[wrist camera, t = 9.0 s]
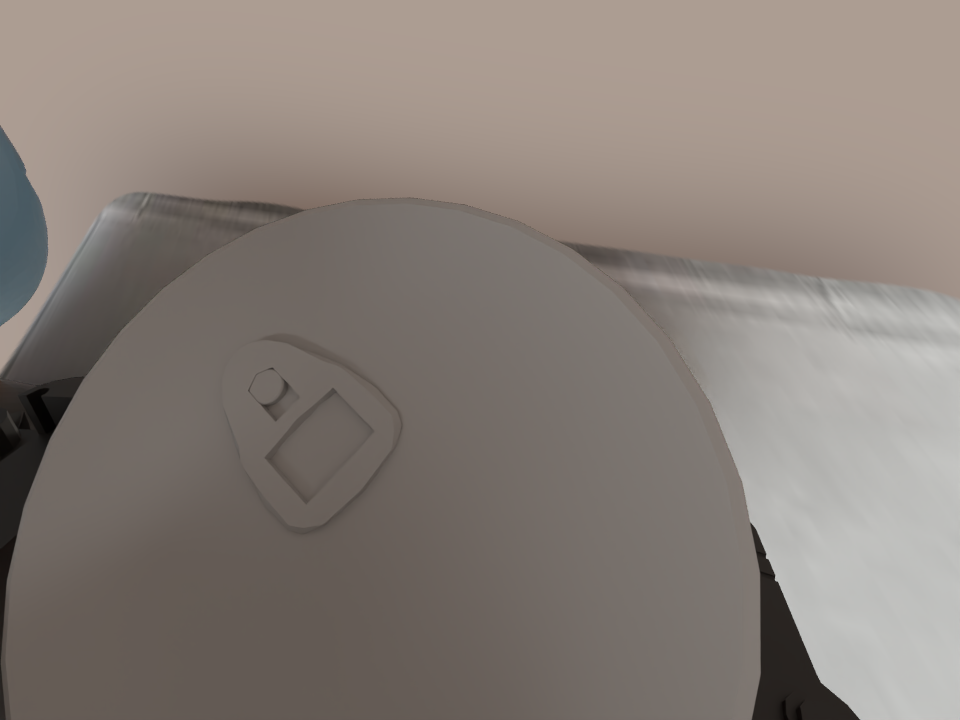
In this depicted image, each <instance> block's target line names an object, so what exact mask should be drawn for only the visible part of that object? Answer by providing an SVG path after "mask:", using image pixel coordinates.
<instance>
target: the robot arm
mask: <svg viewBox="0 0 960 720" xmlns="http://www.w3.org/2000/svg"><path fill="white" fill-rule="evenodd" d="M47 236H48V235H47V226H46V221H45V217H44V213H43V209H42V205H41V202H40V200H39V198H38V196H37V194H36V192H35V191H34V189H33V187H32V186H31V184H30V182H29V180H28V178H27V177H26V169H25V167H24V163H23V162H22V160H21V158H20V156H19V154H18V153H17V151H16V149H15V148H14V146H13V144H12V143H11V141H10V140H9V138H8V137H7V135H6V134H5V132H4V130H3V129H2V127H1V126H0V326H1V325H2V324H4V323H5V322H7V321H8V320H9V319H10V318H12V317H13V316H14V315H15V314H16V313H18V312H19V311H20V310H21V309H22V308H23V307H24V306H25V305H26V303H27V302H28V301H29V300H30V298H31V297H32V295H33V294H34V293H35V291H36V290H37V288H38V286H39V283H40V281H41V279H42V276H43V274H44V270H45V267H46V263H47V256H48V237H47ZM84 378H85V377H75V378H69V379H63V380H57V381H54V382H50V383H47V384H43V385H40V386H35V385H30V384H25V383H20V382H15V381H10V380H5V379H0V720H6V716H5V705H4V694H3V683H2V671H1V652H2V639H3V625H4V612H5V598H6V585H7V578H8V573H9V569H10V565H11V560H12V556H13V552H14V547H15V543H16V539H17V534H18V530H19V525H20V521H21V517H22V512H23V508H24V505H25V502H26V500H27V497H28V494H29V492H30V489H31V487H32V484H33V481H34V479H35V476H36V474H37V471H38V469H39V466H40V463H41V461H42V458H43V456H44V453H45V451H46V448H47V445H48V443H49V440H50V438H51V436H52V435H53V433H54V431H55V429H56V427H57V426H58V424H59V422H60V420H61V418H62V417H63V415H64V413H65V411H66V409H67V408H68V406H69V404H70V402H71V401H72V399H73V397H74V395H75V393H76V392H77V390H78V388H79V386H80V384H81V383H82V381H83V379H84ZM750 525H751V530H752V535H753V540H754V545H755V550H756V555H757V560H758V565H759V570H760V660H761V675H760V680H759V685H758V690H757V695H756V700H755V705H754V710H753V715H752V720H860V719H859V718H858V717H857V716H856V714H855V713H854V712H853V711H852V710H851V709H850V708H849V706H848V705H847V704H845V703H844V702H843V701H842V700H841V699H840V698H838V697H837V696H836V695H835V694H834V693H832V692H831V691H830V690H829V689H828V688H826V687H825V686H824V685H823V684H822V683H821V682H820V680H819V678H818V676H817V674H816V672H815V670H814V667H813V665H812V662H811V660H810V658H809V655H808V653H807V650H806V648H805V646H804V643H803V641H802V638H801V636H800V634H799V631H798V629H797V626H796V624H795V622H794V619H793V617H792V615H791V612H790V610H789V607H788V605H787V603H786V600H785V598H784V595H783V593H782V591H781V588H780V586H779V583H778V582H776V581H775V574H774V571H773V569H772V567H771V564H770V562H769V559H766V552H765V550H764V547H763V545H762V543H761V540H760V538H759V535H758V533H757V531H756V529H755V527H754V526H753V525H752V524H751V523H750Z"/></svg>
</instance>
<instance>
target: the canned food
mask: <svg viewBox="0 0 960 720" xmlns="http://www.w3.org/2000/svg"><path fill="white" fill-rule="evenodd" d="M1 671H2V683H3V694H4V705H5V716H6V720H752V715H753V710H754V705H755V700H756V695H757V690H758V685H759V680H760V675H761V660H760V570H759V565H758V560H757V555H756V550H755V545H754V540H753V535H752V530H751V525H750V520H749V515H748V510H747V505H746V500H745V495H744V489H743V484H742V481H741V478H740V476H739V473H738V471H737V468H736V466H735V463H734V461H733V458H732V456H731V453H730V451H729V448H728V446H727V443H726V441H725V438H724V436H723V433H722V431H721V428H720V426H719V423H718V421H717V418H716V416H715V413H714V411H713V408H712V406H711V403H710V402H709V400H708V399H707V397H706V395H705V394H704V392H703V391H702V389H701V387H700V386H699V384H698V383H697V381H696V379H695V378H694V376H693V375H692V373H691V372H690V370H689V368H688V367H687V365H686V364H685V362H684V360H683V359H682V357H681V356H680V354H679V352H678V351H677V349H676V348H675V346H674V345H673V343H672V341H671V340H670V338H669V337H668V336H667V335H666V334H665V333H664V332H663V331H662V330H661V329H660V327H659V326H658V325H657V324H656V323H655V322H654V321H653V320H652V319H651V318H650V317H649V315H648V314H647V313H646V312H645V311H644V310H643V309H642V308H641V307H640V306H639V305H638V303H637V302H636V301H635V300H634V299H633V298H632V297H631V296H630V295H629V294H628V293H627V291H626V290H625V289H624V288H623V287H622V286H620V285H619V284H618V283H616V282H615V281H614V280H612V279H611V278H610V277H609V276H607V275H606V274H605V273H603V272H602V271H601V270H599V269H598V268H597V267H595V266H594V265H593V264H591V263H590V262H589V261H588V260H586V259H585V258H584V257H582V256H581V255H580V254H578V253H577V252H576V251H574V250H573V249H572V248H570V247H568V246H566V245H564V244H562V243H560V242H558V241H556V240H554V239H552V238H550V237H548V236H546V235H544V234H542V233H540V232H539V231H536V230H535V229H533V228H531V227H529V226H527V225H525V224H523V223H521V222H519V221H516V220H513V219H510V218H506V217H503V216H500V215H497V214H493V213H490V212H487V211H483V210H480V209H477V208H474V207H471V206H468V205H464V204H456V203H448V202H441V201H433V200H425V199H418V198H388V199H362V200H353V201H348V202H343V203H338V204H333V205H328V206H323V207H318V208H313V209H308V210H305V211H302V212H299V213H296V214H294V215H291V216H288V217H285V218H283V219H280V220H277V221H274V222H272V223H269V224H266V225H263V226H261V227H258V228H256V229H254V230H252V231H250V232H248V233H246V234H245V235H243V236H241V237H239V238H237V239H235V240H234V241H232V242H230V243H228V244H226V245H224V246H223V247H221V248H219V249H217V250H215V251H213V252H212V253H210V254H208V255H207V256H205V257H204V258H203V259H201V260H200V261H199V262H197V263H196V264H195V265H193V266H192V267H191V268H189V269H188V270H187V271H185V272H184V273H183V274H181V275H180V276H179V277H177V278H176V279H175V280H173V281H172V282H171V283H169V284H168V285H167V286H165V287H164V288H163V289H162V290H161V291H160V292H159V293H158V294H157V295H156V296H155V297H154V298H153V299H152V300H151V301H150V302H149V303H148V304H147V305H146V306H145V307H144V308H143V309H142V310H141V311H140V312H139V313H138V314H137V315H136V316H135V317H134V318H133V319H132V320H131V321H130V322H129V323H128V324H127V325H126V326H125V327H124V328H123V329H122V330H121V331H120V332H119V333H118V335H117V336H116V337H115V339H114V340H113V341H112V342H111V344H110V345H109V346H108V348H107V349H106V350H105V352H104V353H103V354H102V356H101V357H100V358H99V360H98V361H97V362H96V364H95V365H94V366H93V368H92V369H91V370H90V372H89V373H88V374H87V376H86V377H85V378H84V379H83V381H82V383H81V384H80V386H79V388H78V390H77V392H76V393H75V395H74V397H73V399H72V401H71V402H70V404H69V406H68V408H67V409H66V411H65V413H64V415H63V417H62V418H61V420H60V422H59V424H58V426H57V427H56V429H55V431H54V433H53V435H52V436H51V438H50V440H49V443H48V445H47V448H46V451H45V453H44V456H43V458H42V461H41V463H40V466H39V469H38V471H37V474H36V476H35V479H34V481H33V484H32V487H31V489H30V492H29V494H28V497H27V500H26V502H25V505H24V508H23V512H22V517H21V521H20V525H19V530H18V534H17V539H16V543H15V547H14V552H13V556H12V560H11V565H10V569H9V573H8V578H7V585H6V598H5V612H4V625H3V639H2V652H1Z"/></svg>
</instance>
